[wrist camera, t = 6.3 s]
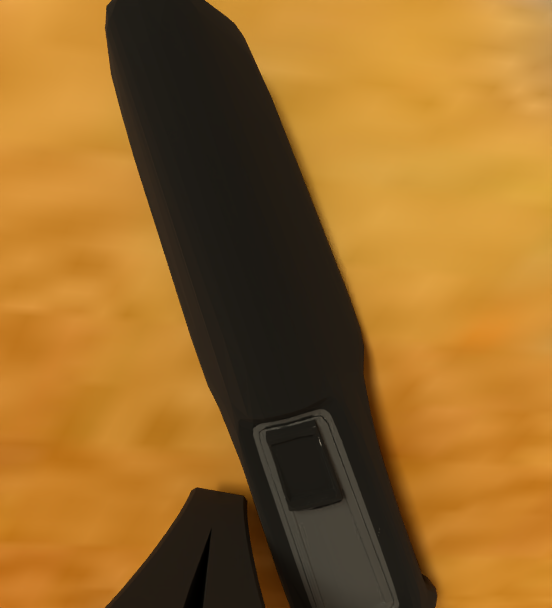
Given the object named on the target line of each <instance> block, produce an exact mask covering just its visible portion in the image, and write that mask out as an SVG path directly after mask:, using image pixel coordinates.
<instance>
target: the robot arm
mask: <svg viewBox="0 0 552 608" xmlns="http://www.w3.org/2000/svg"><path fill="white" fill-rule="evenodd" d="M105 608H265V604H264V601H263V597H262V593H261V589H260V585H259V582H258V577H257V572H256V568H255V563H254V559H253V554H252V548H251V543H250V536H249V529H248V519H247V500H246V498H245V497H244V496H241V495H236V494H230V493H225V492H219V491H214V490H208V489H203V488H195V489H193V490H192V491H191V493H190V495H189V497H188V499H187V501H186V503H185V504H184V506H183V508H182V510H181V511H180V513H179V514H178V516H177V518H176V519H175V521H174V522H173V524H172V525H171V527H170V528H169V530H168V531H167V532H166V534H165V535H164V537H163V538H162V539H161V541H160V542H159V543H158V545H157V546H156V547H155V549H154V550H153V552H152V553H151V554H150V556H149V557H148V558H147V559H146V561H145V562H144V563H143V564H142V566H141V567H140V568H139V569H138V570H137V572H136V573H135V574H134V575H133V576H132V578H131V579H130V580H129V581H128V582H127V584H126V585H125V586H124V587H123V588H122V590H121V591H120V592H119V593H118V594H117V595H116V596H115V597H114V598H113V600H112V601H111V602H110V603H109V604H108V605H107V606H106V607H105Z"/></svg>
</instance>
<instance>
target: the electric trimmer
mask: <svg viewBox="0 0 552 608" xmlns="http://www.w3.org/2000/svg"><path fill="white" fill-rule="evenodd" d="M105 31H106V38H107V46H108V54H109V62H110V70H111V75H112V79H113V83H114V87H115V91H116V95H117V98H118V102H119V106H120V110H121V114H122V117H123V121H124V124H125V128H126V131H127V135H128V138H129V142H130V145H131V149H132V152H133V156H134V159H135V162H136V165H137V169H138V172H139V175H140V178H141V181H142V184H143V188H144V191H145V194H146V197H147V200H148V203H149V206H150V210H151V213H152V216H153V219H154V222H155V225H156V229H157V232H158V235H159V238H160V241H161V244H162V248H163V251H164V254H165V257H166V260H167V263H168V266H169V270H170V273H171V276H172V279H173V282H174V285H175V289H176V292H177V295H178V298H179V301H180V304H181V308H182V311H183V314H184V317H185V320H186V323H187V326H188V330H189V333H190V336H191V339H192V342H193V345H194V347H195V350H196V353H197V356H198V359H199V362H200V364H201V367H202V370H203V373H204V376H205V379H206V381H207V384H208V387H209V389H210V391H211V393H212V395H213V397H214V399H215V401H216V403H217V405H218V407H219V409H220V411H221V414H222V416H223V419H224V421H225V424H226V426H227V429H228V431H229V434H230V436H231V439H232V441H233V444H234V446H235V449H236V451H237V454H238V456H239V459H240V461H241V464H242V467H243V470H244V473H245V476H246V479H247V482H248V485H249V488H250V491H251V494H252V497H253V500H254V503H255V506H256V509H257V512H258V515H259V518H260V521H261V524H262V527H263V530H264V533H265V536H266V539H267V542H268V545H269V548H270V551H271V554H272V557H273V560H274V563H275V566H276V569H277V572H278V575H279V577H280V580H281V583H282V586H283V588H284V591H285V594H286V597H287V599H288V602H289V605H290V608H435V607H436V601H437V592H436V588H435V587H434V586H433V584H432V583H431V582H430V580H429V579H428V578H427V577H426V576H424V575H423V574H422V573H421V571H420V568H419V565H418V562H417V560H416V557H415V554H414V551H413V548H412V545H411V543H410V540H409V537H408V534H407V531H406V528H405V525H404V523H403V520H402V517H401V514H400V511H399V508H398V505H397V502H396V499H395V496H394V493H393V489H392V486H391V483H390V480H389V477H388V474H387V471H386V468H385V465H384V462H383V458H382V455H381V452H380V448H379V444H378V440H377V436H376V432H375V428H374V424H373V420H372V416H371V412H370V407H369V402H368V396H367V391H366V386H365V381H364V375H363V365H364V345H363V340H362V335H361V330H360V326H359V323H358V320H357V318H356V315H355V312H354V309H353V306H352V303H351V300H350V297H349V295H348V292H347V289H346V287H345V284H344V282H343V279H342V277H341V274H340V271H339V269H338V266H337V264H336V261H335V259H334V256H333V254H332V251H331V248H330V246H329V243H328V241H327V238H326V236H325V233H324V231H323V228H322V225H321V223H320V220H319V218H318V215H317V213H316V210H315V208H314V205H313V203H312V200H311V197H310V195H309V192H308V190H307V187H306V185H305V182H304V180H303V177H302V174H301V172H300V169H299V167H298V164H297V162H296V159H295V157H294V154H293V151H292V149H291V146H290V144H289V141H288V139H287V136H286V134H285V131H284V128H283V126H282V123H281V121H280V118H279V116H278V113H277V111H276V108H275V105H274V103H273V100H272V98H271V95H270V93H269V91H268V89H267V86H266V84H265V82H264V80H263V78H262V75H261V73H260V71H259V69H258V67H257V64H256V62H255V60H254V58H253V56H252V53H251V51H250V49H249V47H248V45H247V42H246V40H245V38H244V36H243V35H242V33H241V32H240V31H239V29H238V28H237V26H236V25H235V24H234V23H233V22H232V21H231V20H230V19H229V18H228V17H226V16H225V15H224V14H222V13H221V12H220V11H218V10H217V9H216V8H214V7H213V6H212V5H210V4H209V3H208V2H206V1H205V0H112V1H111V2H110V3H109V4H108V5H107V8H106V24H105Z"/></svg>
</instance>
